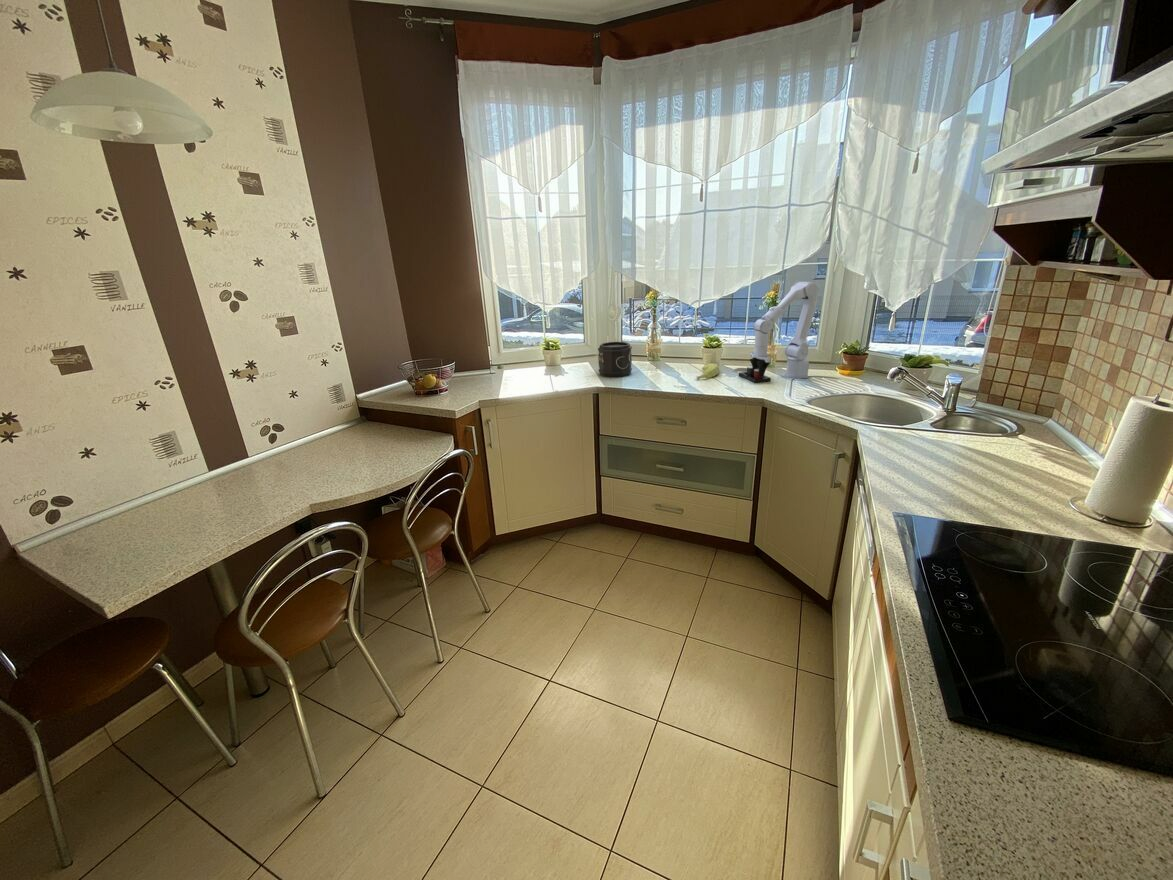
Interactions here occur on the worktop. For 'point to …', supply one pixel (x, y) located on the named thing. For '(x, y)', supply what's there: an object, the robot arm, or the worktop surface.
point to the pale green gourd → (709, 371)
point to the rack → (754, 380)
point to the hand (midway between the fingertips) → (758, 374)
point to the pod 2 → (757, 374)
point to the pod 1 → (749, 370)
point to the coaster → (741, 369)
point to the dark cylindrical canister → (615, 359)
